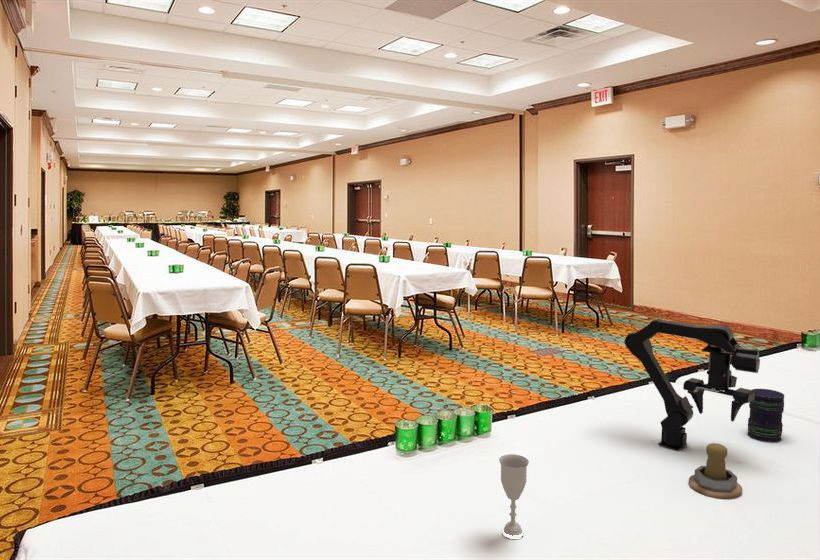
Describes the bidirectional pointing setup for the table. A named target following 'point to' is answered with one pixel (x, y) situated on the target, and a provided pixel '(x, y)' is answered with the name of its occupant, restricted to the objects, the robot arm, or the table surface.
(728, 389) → the robot arm
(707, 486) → the coupling socket
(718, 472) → the cork
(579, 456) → the table surface
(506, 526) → the chalice
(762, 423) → the storage jar
